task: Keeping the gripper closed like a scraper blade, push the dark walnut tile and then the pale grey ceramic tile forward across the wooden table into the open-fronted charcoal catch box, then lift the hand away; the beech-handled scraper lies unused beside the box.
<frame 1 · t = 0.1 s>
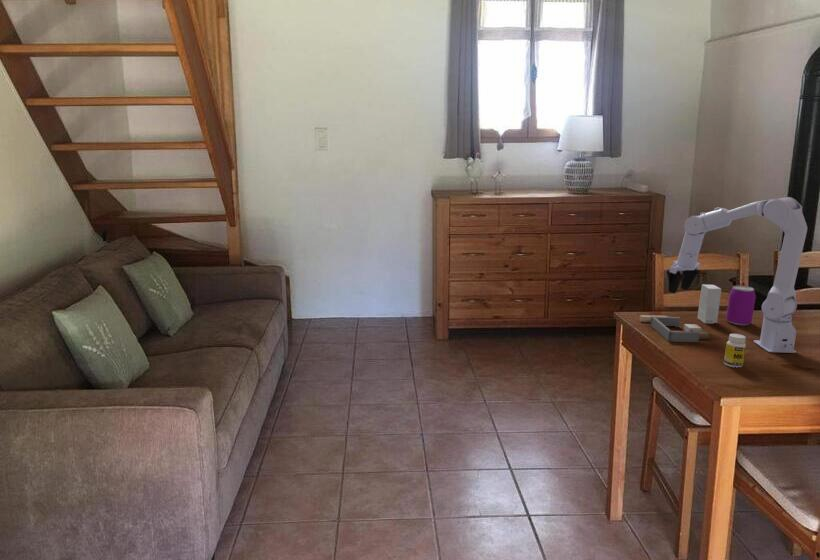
hand: (678, 290, 213), 11 cm above the table, tool pointing down, fingers open, 7 cm apart
walnut tile: (699, 337, 201), on the table
skincare box: (706, 321, 217), on the table
scraper: (658, 321, 215), on the table
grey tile: (692, 332, 206), on the table
beverage can: (738, 323, 216), on the table
supplement bottle: (733, 365, 177), on the table
catch box: (673, 333, 203), on the table
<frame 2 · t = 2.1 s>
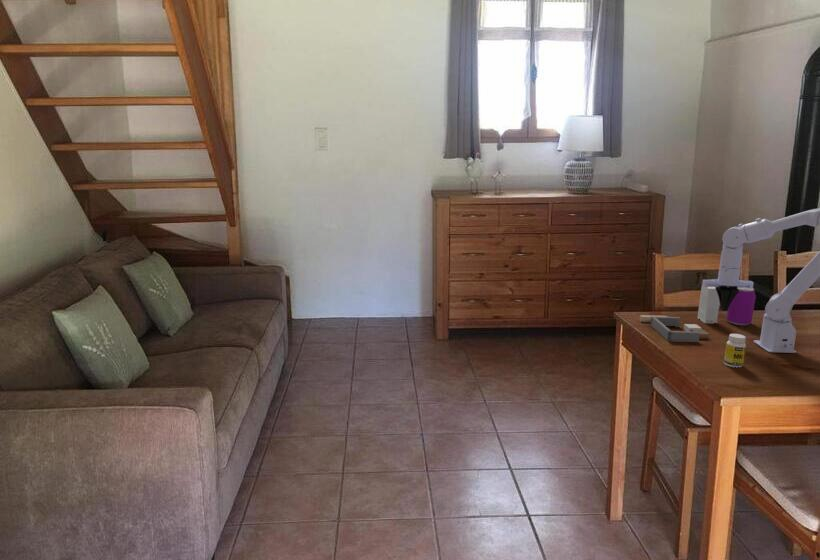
hand: (723, 310, 198), 9 cm above the table, tool pointing down, fingers closed
nothing on the table moved.
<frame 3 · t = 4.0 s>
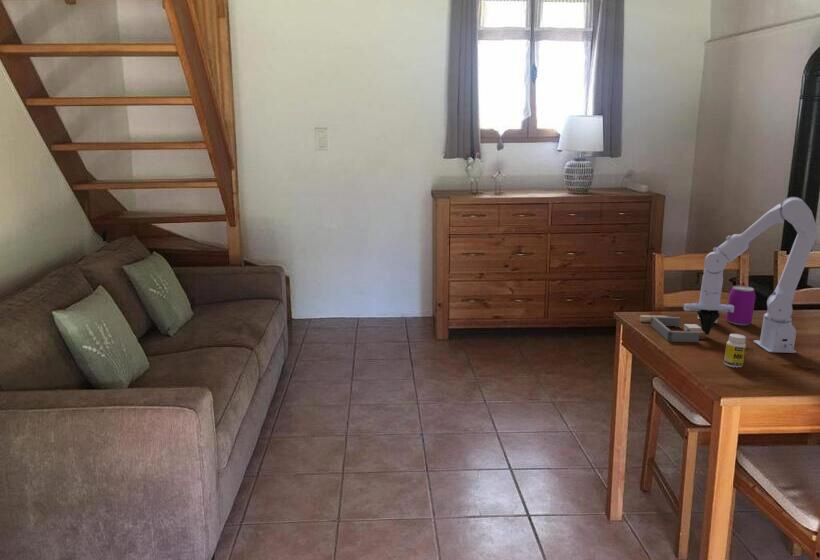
hand: (705, 333, 200), 1 cm above the table, tool pointing down, fingers closed
walnut tile: (695, 336, 200), on the table, touching gripper
everything else where it was.
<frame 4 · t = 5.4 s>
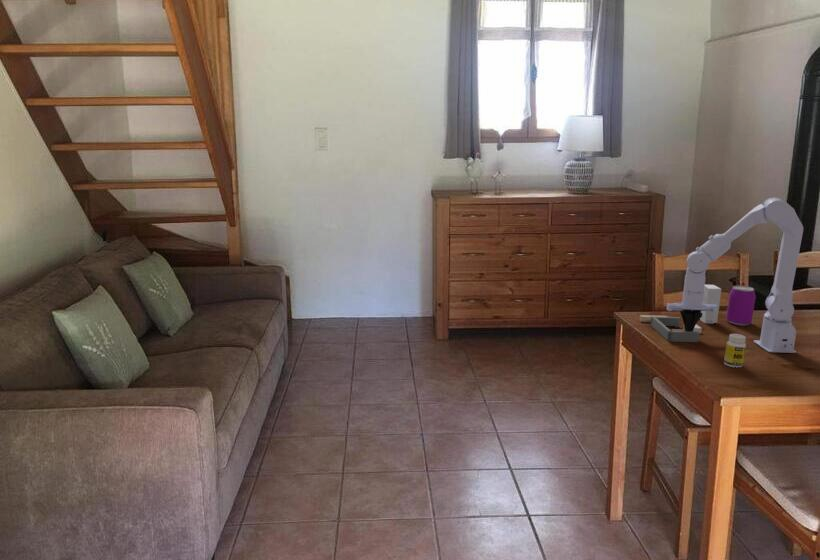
hand: (688, 333, 200), 1 cm above the table, tool pointing down, fingers closed
walnut tile: (678, 337, 200), on the table
everything else where it was.
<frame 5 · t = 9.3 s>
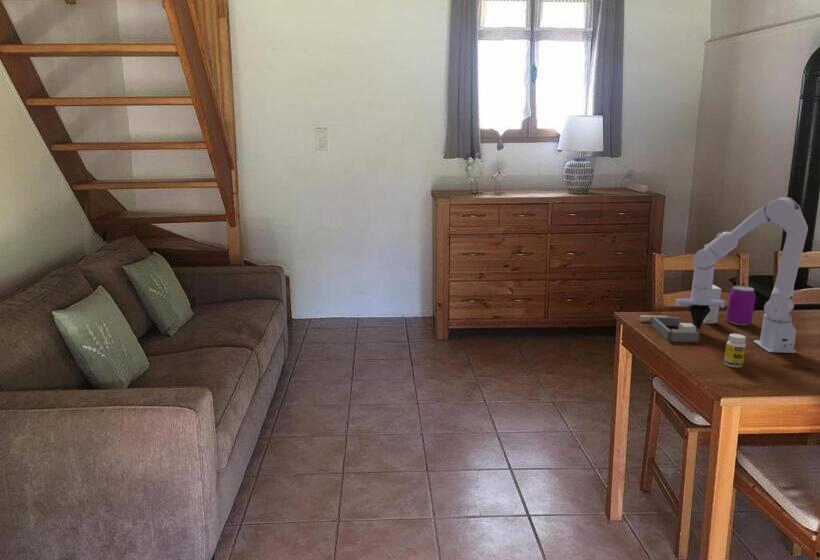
hand: (696, 328, 206), 1 cm above the table, tool pointing down, fingers closed
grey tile: (686, 330, 206), on the table, touching gripper
everything else where it was.
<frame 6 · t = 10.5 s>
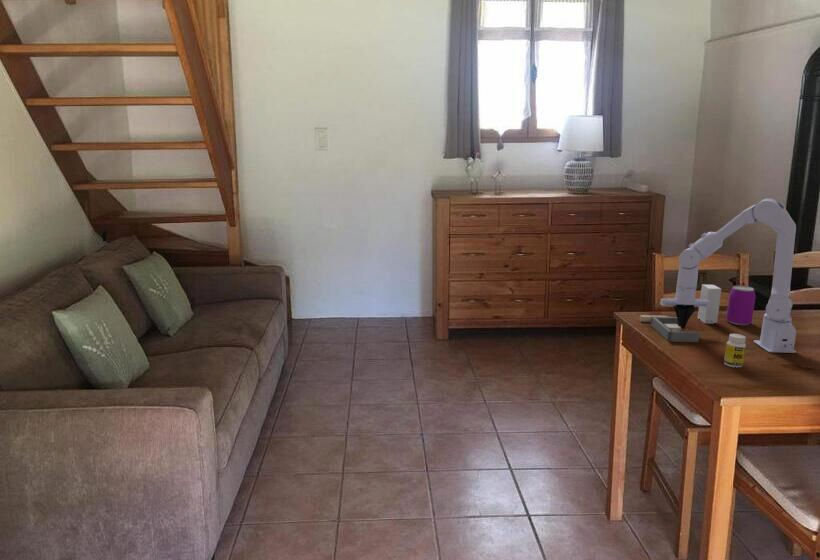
hand: (681, 327, 206), 1 cm above the table, tool pointing down, fingers closed
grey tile: (671, 331, 206), on the table
everything else where it was.
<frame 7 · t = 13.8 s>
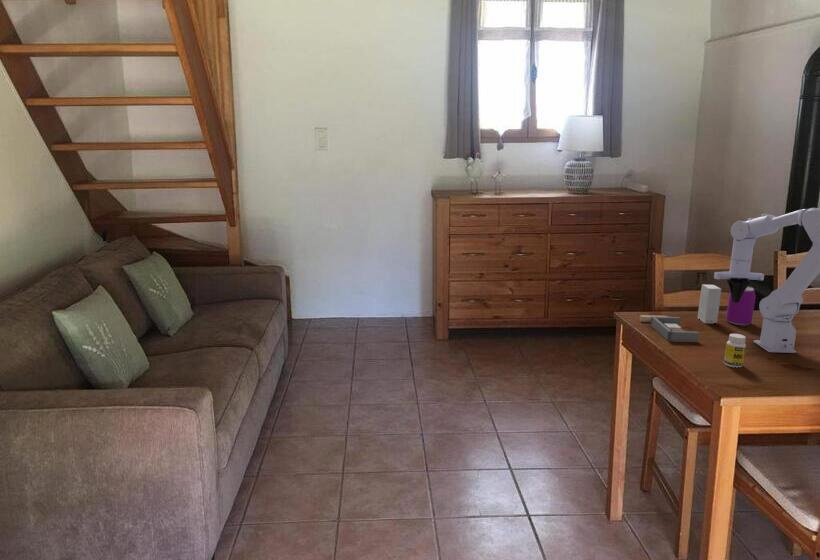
hand: (735, 301, 204), 10 cm above the table, tool pointing down, fingers closed
nothing on the table moved.
at the end: walnut tile inside the target area on the catch box (2.9 cm from its centre), point 0.0 cm above the catch box's base; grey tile inside the target area on the catch box (3.2 cm from its centre), point 0.0 cm above the catch box's base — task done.
